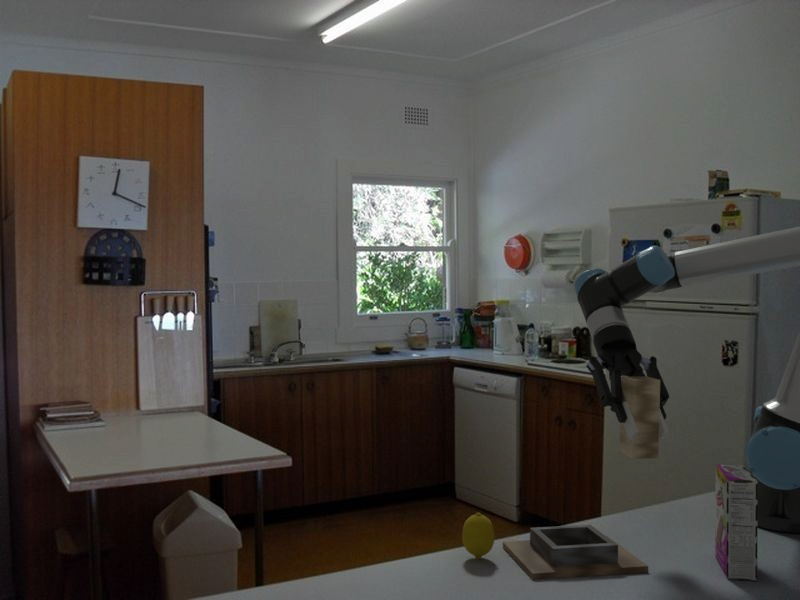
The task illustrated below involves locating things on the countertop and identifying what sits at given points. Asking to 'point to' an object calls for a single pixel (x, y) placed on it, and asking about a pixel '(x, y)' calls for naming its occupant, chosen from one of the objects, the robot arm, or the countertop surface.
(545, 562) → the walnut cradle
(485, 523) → the lemon
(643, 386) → the maple post
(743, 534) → the candy bar box
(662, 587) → the countertop surface
